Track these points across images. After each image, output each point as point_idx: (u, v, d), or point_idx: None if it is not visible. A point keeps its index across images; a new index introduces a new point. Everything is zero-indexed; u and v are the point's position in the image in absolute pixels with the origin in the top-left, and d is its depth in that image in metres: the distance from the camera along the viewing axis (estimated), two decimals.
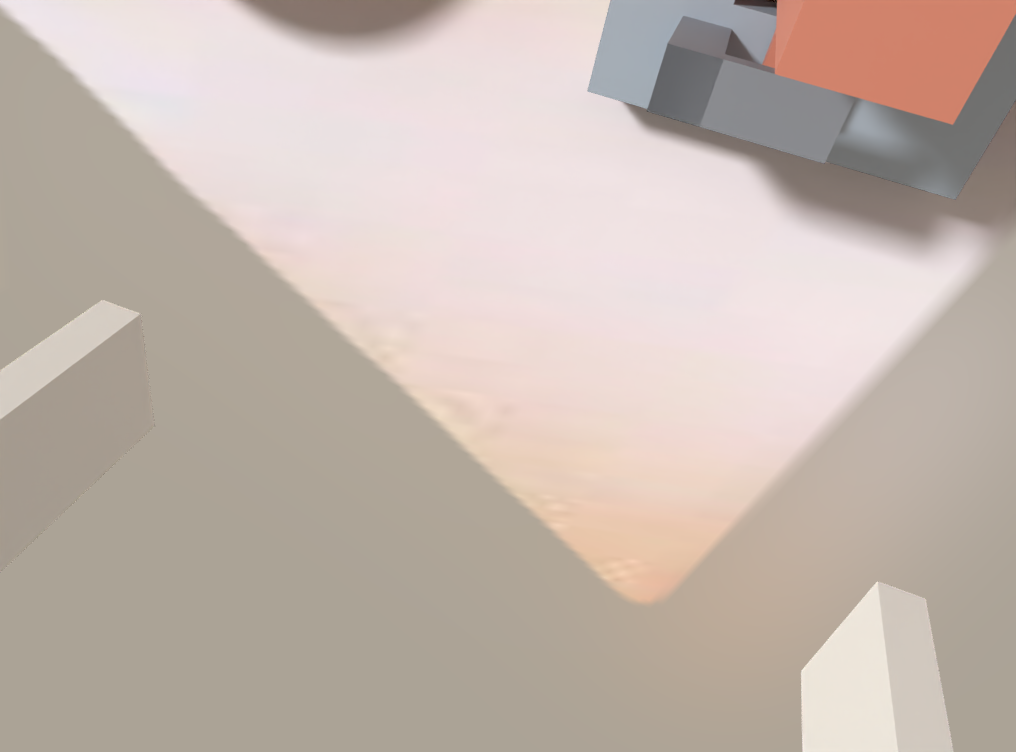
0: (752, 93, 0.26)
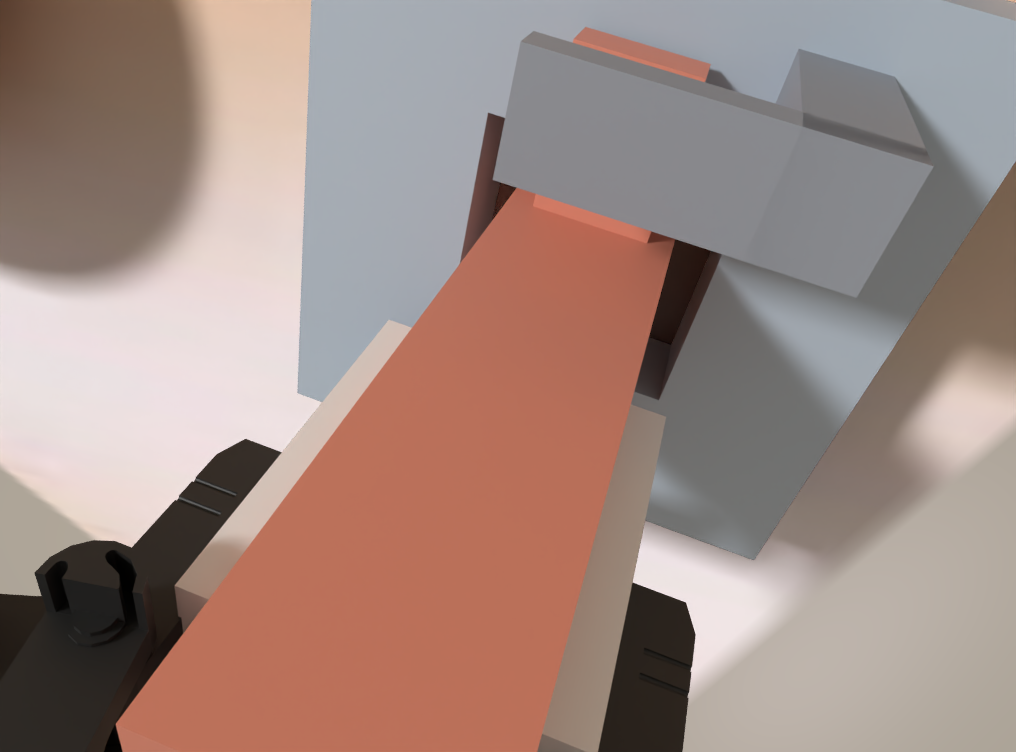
0: None
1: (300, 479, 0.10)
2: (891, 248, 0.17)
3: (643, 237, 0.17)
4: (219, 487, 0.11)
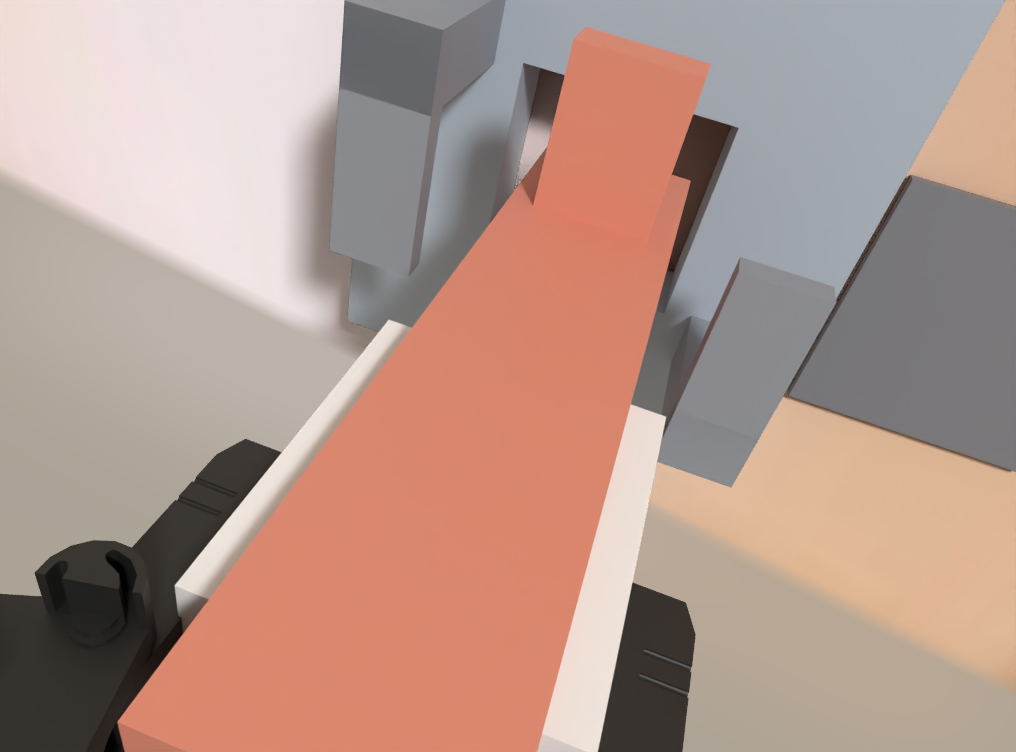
0: (394, 158, 0.19)
1: (301, 478, 0.10)
2: None
3: (643, 237, 0.18)
4: (219, 487, 0.11)
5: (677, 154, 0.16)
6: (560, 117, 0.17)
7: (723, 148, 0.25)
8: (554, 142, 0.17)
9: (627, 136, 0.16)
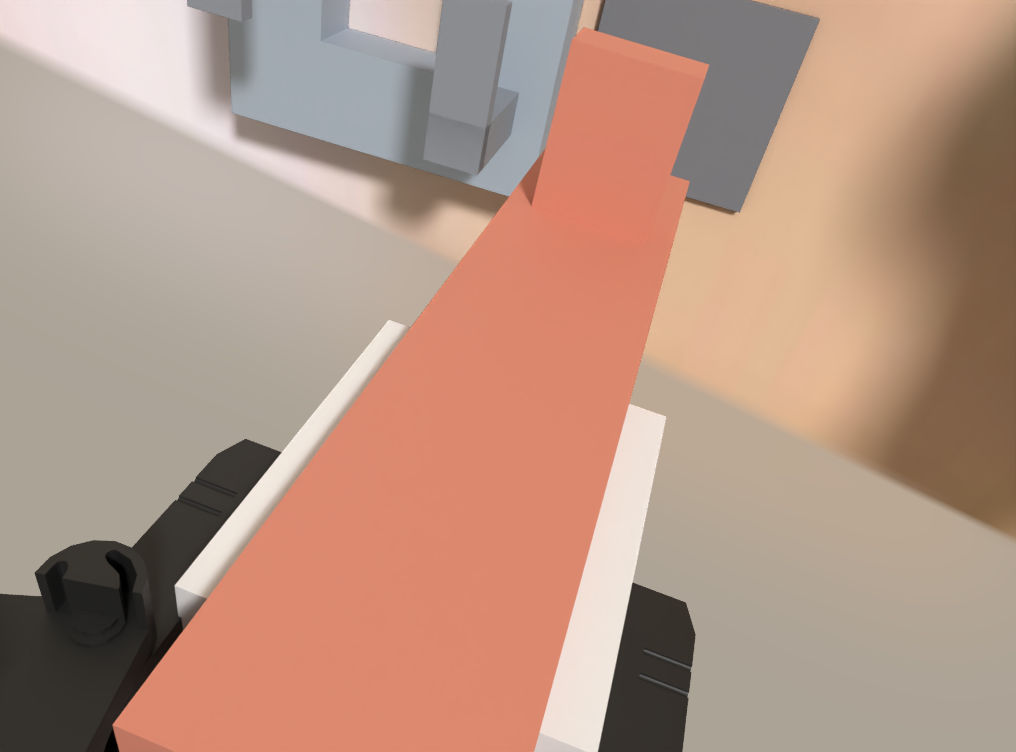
0: None
1: (298, 480, 0.10)
2: None
3: (642, 238, 0.17)
4: (219, 487, 0.11)
5: (675, 155, 0.16)
6: (558, 118, 0.16)
7: None
8: (552, 143, 0.17)
9: (625, 137, 0.16)
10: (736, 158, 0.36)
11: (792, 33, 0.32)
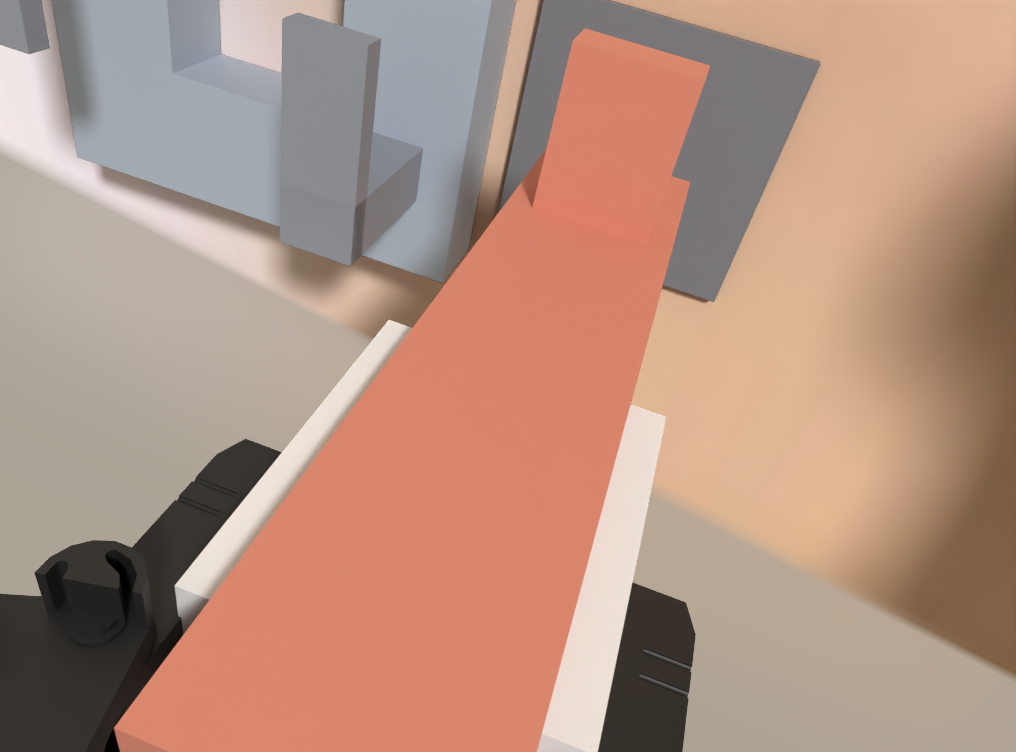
0: None
1: (299, 482, 0.10)
2: None
3: (642, 239, 0.17)
4: (219, 487, 0.11)
5: (676, 156, 0.16)
6: (559, 119, 0.16)
7: None
8: (553, 144, 0.17)
9: (626, 138, 0.16)
10: (710, 236, 0.28)
11: (783, 80, 0.24)
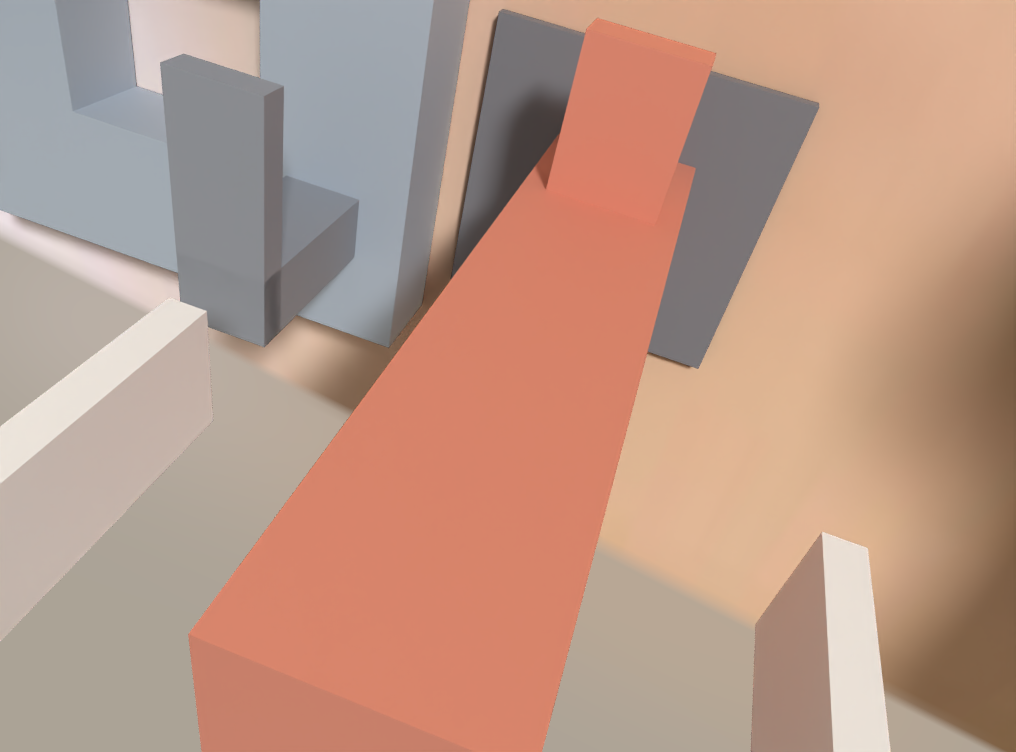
0: None
1: (340, 431, 0.11)
2: None
3: (651, 219, 0.18)
4: None
5: (684, 139, 0.17)
6: (573, 104, 0.17)
7: None
8: (567, 128, 0.18)
9: (637, 122, 0.17)
10: (693, 297, 0.24)
11: (775, 125, 0.21)
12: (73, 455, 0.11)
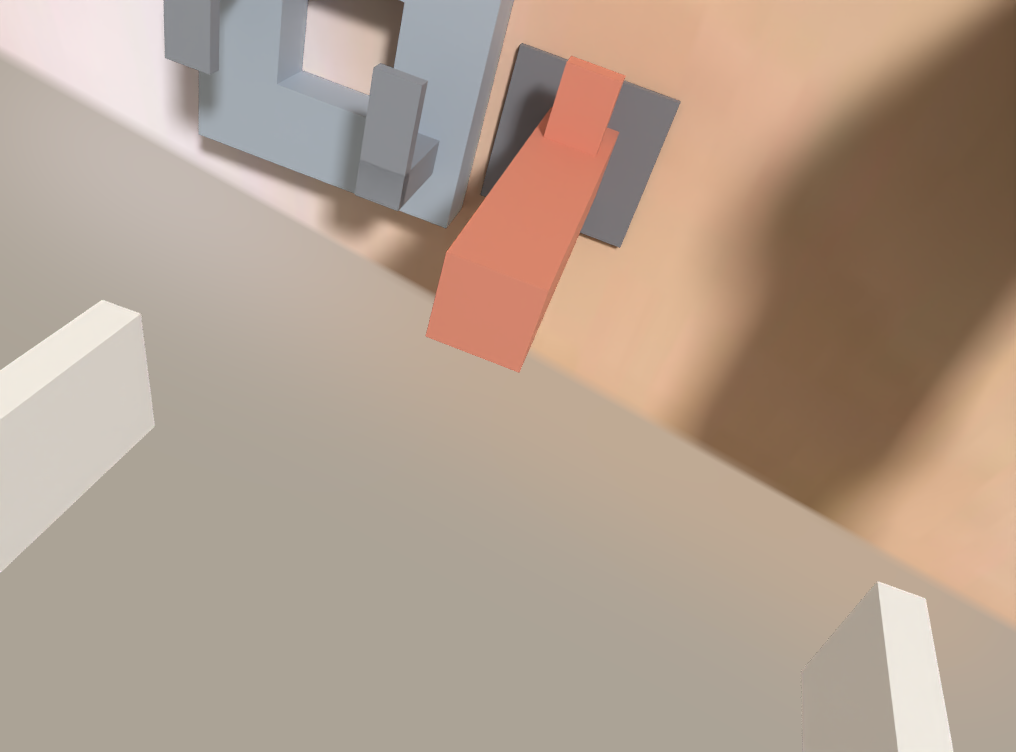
0: None
1: (475, 212, 0.31)
2: None
3: (594, 153, 0.38)
4: None
5: (609, 115, 0.37)
6: (558, 96, 0.37)
7: None
8: (555, 107, 0.37)
9: (588, 106, 0.37)
10: (617, 204, 0.44)
11: (659, 111, 0.40)
12: None
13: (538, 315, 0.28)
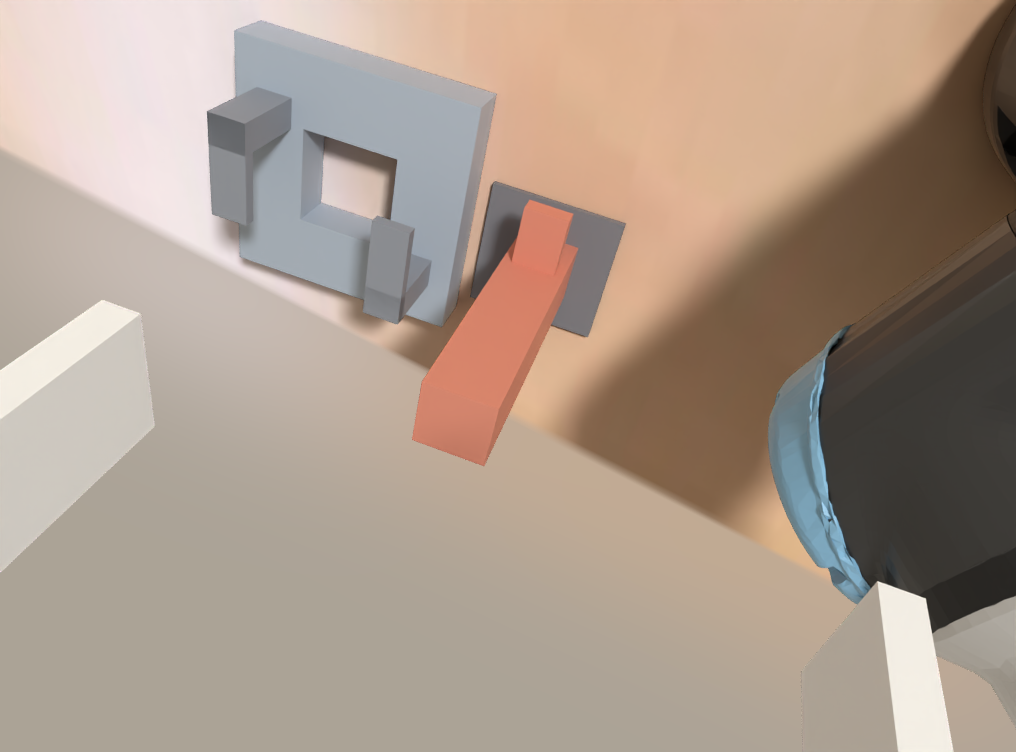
0: (233, 173, 0.45)
1: None
2: None
3: (552, 274, 0.47)
4: None
5: (561, 245, 0.46)
6: (520, 231, 0.46)
7: None
8: (518, 240, 0.46)
9: (544, 239, 0.46)
10: (582, 303, 0.53)
11: (608, 232, 0.49)
12: None
13: (493, 426, 0.37)
